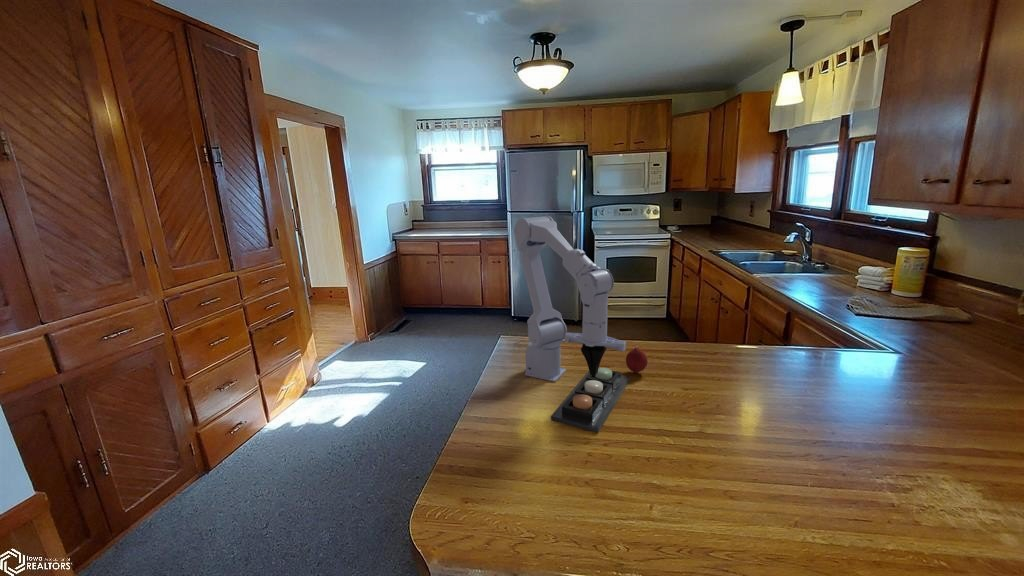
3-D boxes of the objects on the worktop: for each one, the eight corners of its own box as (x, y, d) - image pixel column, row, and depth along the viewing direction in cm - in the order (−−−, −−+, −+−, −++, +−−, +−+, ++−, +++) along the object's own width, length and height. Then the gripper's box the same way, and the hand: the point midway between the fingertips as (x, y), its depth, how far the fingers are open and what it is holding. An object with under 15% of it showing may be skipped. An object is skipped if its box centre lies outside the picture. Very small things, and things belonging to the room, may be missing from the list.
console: (550, 420, 93) (550, 408, 92) (590, 373, 116) (590, 363, 115) (598, 433, 88) (598, 420, 87) (629, 380, 111) (629, 370, 110)
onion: (648, 378, 112) (649, 350, 110) (626, 377, 113) (627, 349, 111) (645, 369, 117) (646, 342, 115) (624, 368, 118) (625, 342, 116)
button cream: (582, 395, 101) (582, 386, 100) (588, 387, 104) (588, 378, 104) (599, 399, 99) (599, 390, 98) (605, 391, 102) (605, 382, 102)
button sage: (592, 382, 108) (592, 373, 107) (597, 375, 111) (598, 366, 111) (609, 385, 105) (609, 376, 105) (613, 378, 109) (614, 369, 109)
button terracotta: (570, 411, 94) (570, 401, 93) (576, 402, 98) (576, 392, 97) (588, 415, 92) (588, 405, 91) (594, 406, 96) (594, 396, 95)
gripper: (559, 321, 97) (559, 374, 100) (621, 330, 90) (619, 386, 93) (570, 313, 103) (570, 363, 106) (629, 320, 96) (626, 374, 99)
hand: (593, 373), depth 100 cm, fingers closed
